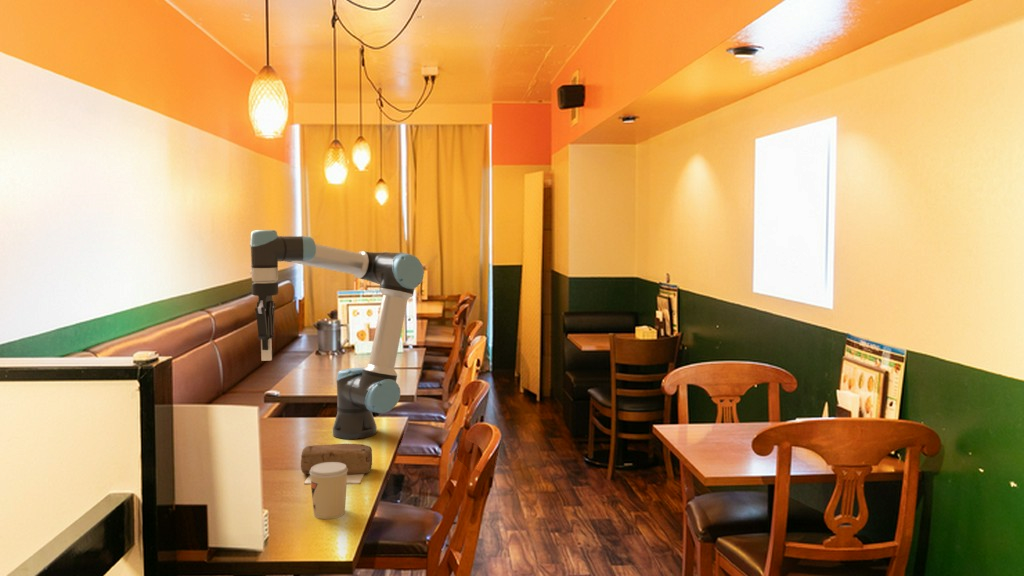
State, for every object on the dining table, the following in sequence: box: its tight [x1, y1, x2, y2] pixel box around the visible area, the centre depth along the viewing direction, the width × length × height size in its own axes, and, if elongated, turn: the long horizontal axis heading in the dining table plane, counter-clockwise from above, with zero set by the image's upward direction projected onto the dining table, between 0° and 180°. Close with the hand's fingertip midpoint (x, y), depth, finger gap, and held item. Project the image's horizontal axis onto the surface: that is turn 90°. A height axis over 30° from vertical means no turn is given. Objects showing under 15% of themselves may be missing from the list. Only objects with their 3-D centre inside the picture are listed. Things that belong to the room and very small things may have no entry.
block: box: [300, 443, 373, 475], centre depth 226 cm, size 11×8×20 cm
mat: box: [303, 473, 366, 485], centre depth 225 cm, size 20×16×1 cm
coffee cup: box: [309, 462, 348, 520], centre depth 193 cm, size 9×9×12 cm
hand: (266, 360), depth 228 cm, fingers closed
